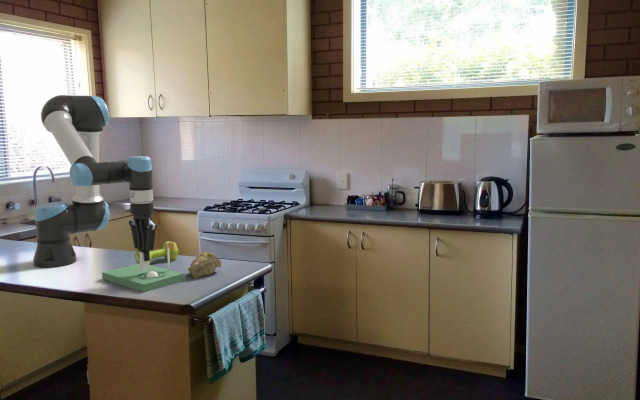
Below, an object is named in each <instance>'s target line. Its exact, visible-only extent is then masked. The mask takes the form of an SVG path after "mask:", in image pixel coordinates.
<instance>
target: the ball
mask: <svg viewBox="0 0 640 400" xmlns="http://www.w3.org/2000/svg"><path fill="white" fill-rule="evenodd" d="M157 276H158V274H157V273H156V272H154V271H151V272H149V273H148V274H147V276H146V278H152V277H157Z"/></svg>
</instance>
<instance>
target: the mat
mask: <svg viewBox="0 0 640 400" xmlns="http://www.w3.org/2000/svg"><path fill="white" fill-rule="evenodd" d="M151 271H154V272H156V273H157V274H158V276H157V277H152V278H146V276H147V274H148V273H149V272H151ZM101 275H102V280H103V281H106V282H110V283H114V284H117V285H120V286H123V287H126V288H129V289H130V288H131V289H133V290H135V291H140V292H143V293H145V292H149V291H153V290H156V289H160V288H162V287H166V286H170V285H172V284H173V285H174V284H177V283H180V282H183V281H184V282H185V279H184V278H185V276H184V275H185V274H184V273H183V272H179V271H175V270H171V269H170V271H168V268H162V267H158V266H156V265H151V264H150V269H148V270H144V271H142V270H140V263H139V264H137V263H136V264H131V265H127V266H123V267H119V268H115V269H112V270H107V271H103V272H101Z"/></svg>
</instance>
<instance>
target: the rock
mask: <svg viewBox="0 0 640 400" xmlns="http://www.w3.org/2000/svg"><path fill="white" fill-rule="evenodd" d="M221 266H222V261H221V259H219V257H217V255H215V254H214V253H213V252H210V251H209V252H208V251H203V252H201V253H199V254H198V255H197V256H196V258H195V259H194V260H192V262H191V263H190V266H189V267H188V268H187V270H188V272H189V273H190V275H191V276H192V278H193V279H197V278H200V277H203V276H205V277H206V275H207V276H210V275H212V274H213V273H214V272H215V271H216V269H217V268H221Z"/></svg>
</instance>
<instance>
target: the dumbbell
mask: <svg viewBox="0 0 640 400" xmlns="http://www.w3.org/2000/svg"><path fill="white" fill-rule="evenodd" d="M169 242H172V243H174V249H170V248H169V257H170V261H174V260H176V259H177V257H178V255H179V248H178V246H177V243H176V242H174V241H169ZM135 250H136V251H135V253H134V259H135V262H136V264H139V263H140V259H139V251H138V249H135ZM149 255H150V257H149V258H150V260H149V265H151V263H152V260H153V259H159V258H162V257H164V259H165V260H167V261H168V258H167V241H165V242H164V243H163V245H162V248H159V249H153V250H150V251H149Z"/></svg>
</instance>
